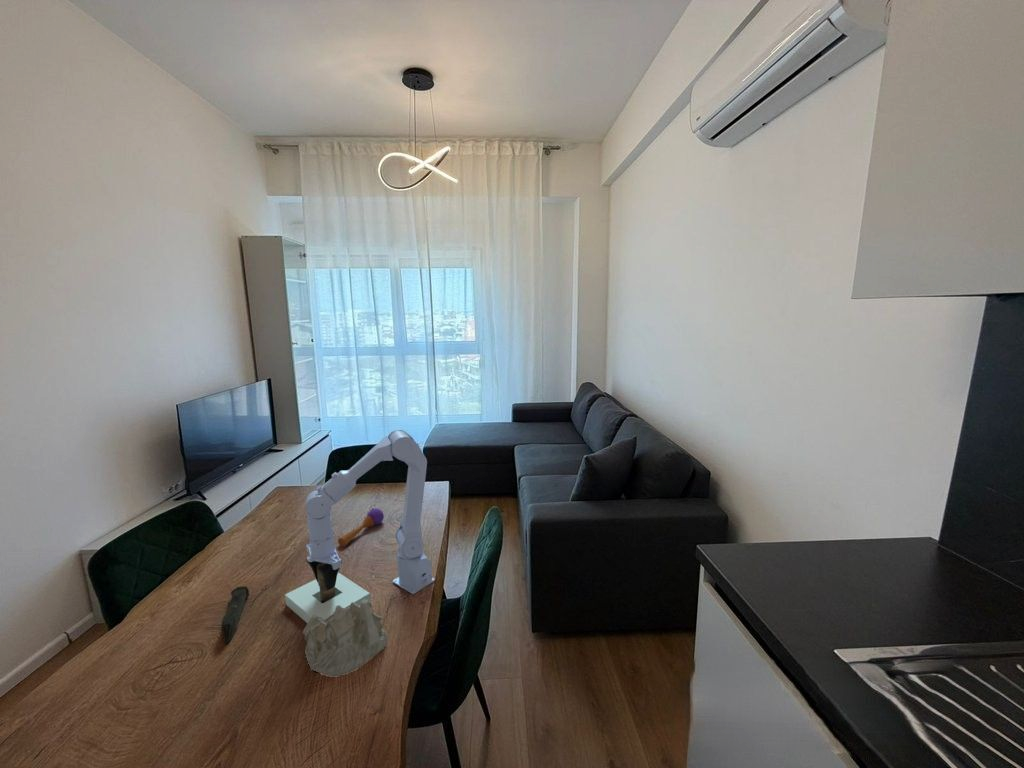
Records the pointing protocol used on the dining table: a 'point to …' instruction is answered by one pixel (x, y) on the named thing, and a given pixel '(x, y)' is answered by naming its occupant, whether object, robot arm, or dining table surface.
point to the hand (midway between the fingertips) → (326, 584)
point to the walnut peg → (324, 592)
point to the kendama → (363, 525)
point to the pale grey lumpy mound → (343, 639)
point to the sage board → (308, 599)
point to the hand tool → (234, 612)
